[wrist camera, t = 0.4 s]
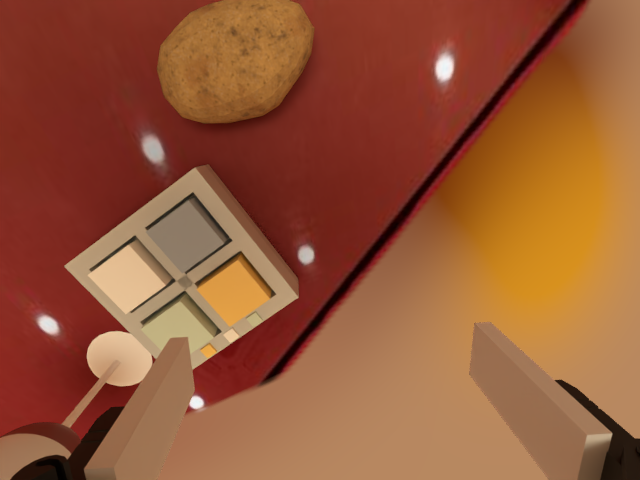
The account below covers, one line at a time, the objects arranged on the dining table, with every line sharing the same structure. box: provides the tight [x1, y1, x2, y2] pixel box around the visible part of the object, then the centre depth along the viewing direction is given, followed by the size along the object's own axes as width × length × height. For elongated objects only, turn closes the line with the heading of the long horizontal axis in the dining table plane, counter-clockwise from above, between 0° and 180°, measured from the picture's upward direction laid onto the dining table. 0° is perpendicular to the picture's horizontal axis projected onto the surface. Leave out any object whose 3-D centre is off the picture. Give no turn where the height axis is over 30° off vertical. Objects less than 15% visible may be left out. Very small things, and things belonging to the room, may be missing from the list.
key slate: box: [146, 196, 229, 274], centre depth 34 cm, size 5×5×3 cm
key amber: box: [196, 252, 272, 327], centre depth 36 cm, size 5×5×3 cm
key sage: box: [141, 292, 218, 354], centre depth 36 cm, size 5×5×3 cm
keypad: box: [64, 164, 299, 370], centre depth 37 cm, size 16×16×6 cm
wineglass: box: [0, 331, 152, 480], centre depth 33 cm, size 8×9×20 cm
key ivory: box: [88, 239, 173, 314], centre depth 34 cm, size 5×5×3 cm
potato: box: [157, 0, 314, 123], centre depth 31 cm, size 10×14×8 cm
